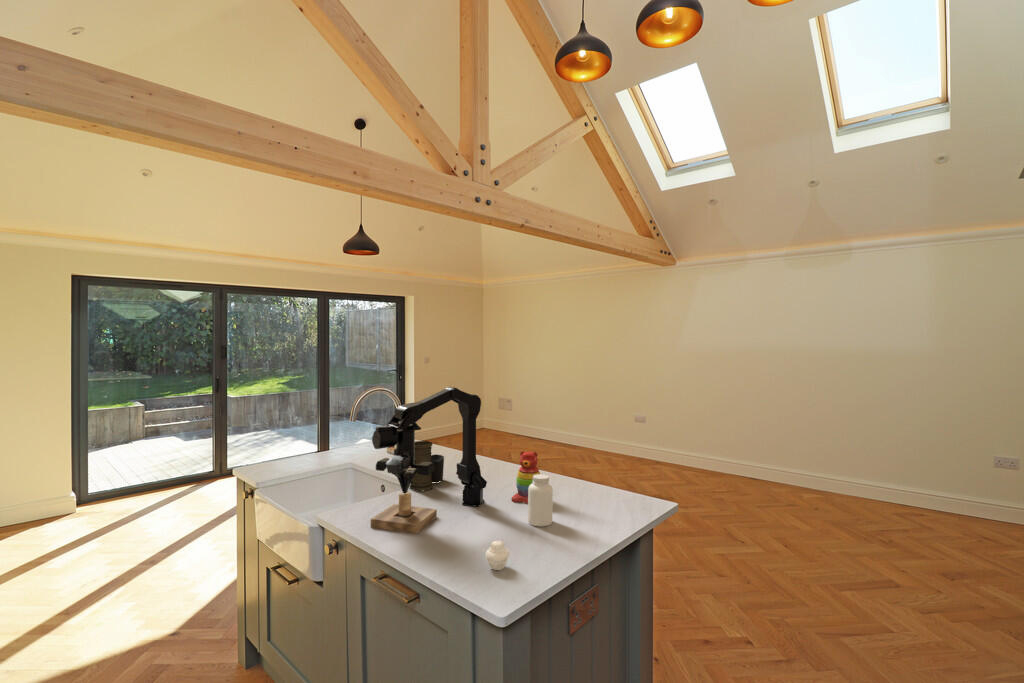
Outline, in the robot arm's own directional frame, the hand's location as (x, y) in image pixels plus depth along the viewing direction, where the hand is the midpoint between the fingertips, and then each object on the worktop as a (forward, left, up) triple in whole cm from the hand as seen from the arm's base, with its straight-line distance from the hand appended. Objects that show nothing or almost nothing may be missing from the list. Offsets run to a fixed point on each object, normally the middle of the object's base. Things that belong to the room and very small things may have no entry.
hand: (405, 492), depth 149 cm
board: (0, 0, -9) cm, 9 cm away
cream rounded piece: (-38, +20, -10) cm, 44 cm away
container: (+11, -33, -10) cm, 36 cm away
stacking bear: (-33, -33, -10) cm, 48 cm away
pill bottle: (-42, -13, -10) cm, 45 cm away
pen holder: (+11, -43, -10) cm, 45 cm away
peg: (0, 0, -9) cm, 9 cm away
